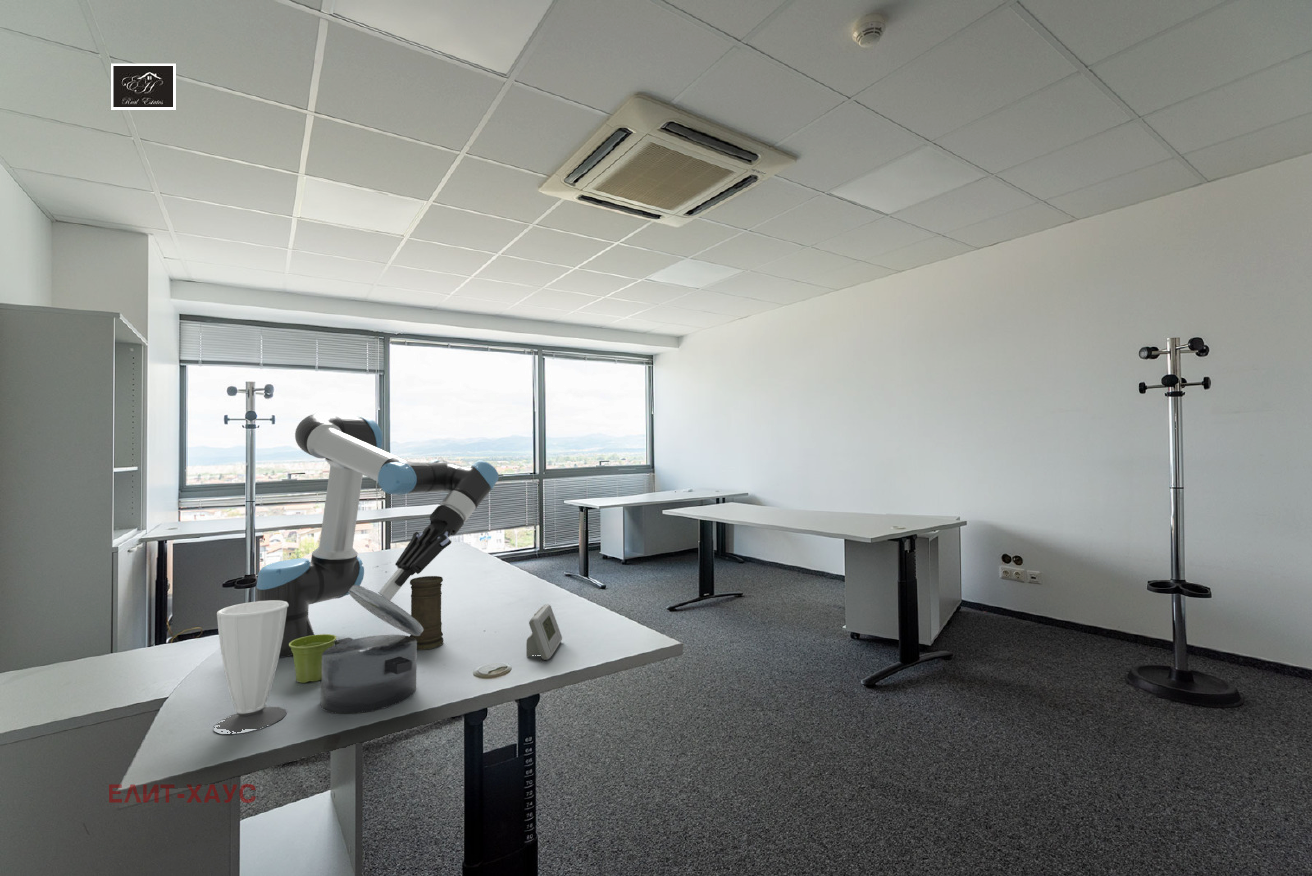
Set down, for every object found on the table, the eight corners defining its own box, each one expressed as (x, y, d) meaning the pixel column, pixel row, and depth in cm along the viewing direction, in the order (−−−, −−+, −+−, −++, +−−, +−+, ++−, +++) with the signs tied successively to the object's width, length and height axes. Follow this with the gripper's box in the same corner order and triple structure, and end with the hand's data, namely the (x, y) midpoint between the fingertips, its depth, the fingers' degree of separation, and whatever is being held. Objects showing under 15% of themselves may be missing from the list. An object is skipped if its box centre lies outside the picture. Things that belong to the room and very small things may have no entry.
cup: (263, 733, 101) (266, 613, 102) (196, 736, 100) (200, 616, 101) (299, 706, 112) (301, 599, 113) (239, 709, 111) (242, 600, 112)
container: (433, 650, 146) (434, 582, 147) (401, 650, 147) (402, 581, 148) (449, 640, 155) (450, 575, 156) (418, 639, 156) (419, 575, 157)
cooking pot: (296, 694, 118) (297, 647, 119) (380, 669, 133) (381, 627, 133) (357, 728, 102) (358, 673, 103) (444, 695, 117) (445, 647, 117)
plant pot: (345, 673, 130) (345, 636, 131) (308, 688, 121) (309, 648, 122) (315, 669, 133) (316, 632, 134) (278, 683, 124) (278, 644, 125)
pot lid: (334, 585, 121) (342, 576, 122) (391, 628, 131) (398, 620, 132) (375, 595, 110) (383, 586, 112) (434, 642, 120) (440, 632, 121)
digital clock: (548, 663, 136) (548, 619, 136) (514, 660, 138) (514, 617, 138) (572, 642, 151) (572, 603, 152) (542, 640, 153) (542, 602, 154)
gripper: (477, 525, 133) (411, 610, 118) (446, 522, 140) (380, 602, 126) (458, 504, 129) (387, 590, 114) (427, 503, 136) (357, 583, 122)
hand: (384, 596), depth 120 cm, fingers closed
